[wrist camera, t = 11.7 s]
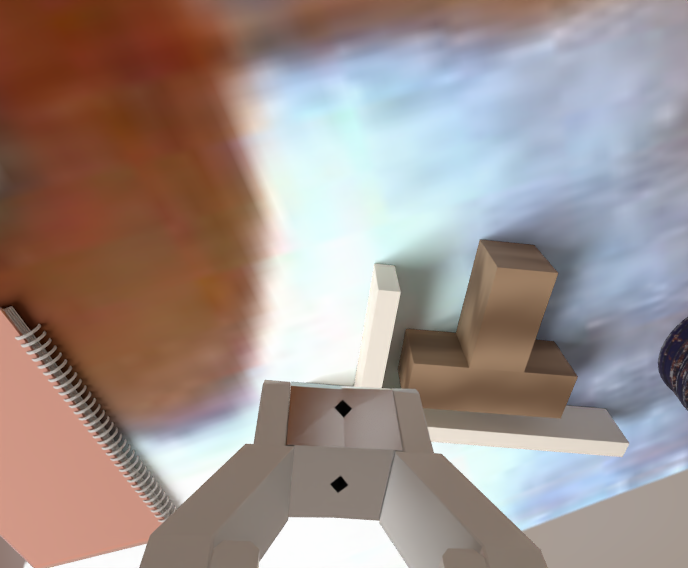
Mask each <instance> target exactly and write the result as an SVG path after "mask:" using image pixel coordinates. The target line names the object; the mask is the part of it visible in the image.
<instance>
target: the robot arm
mask: <svg viewBox="0 0 688 568" xmlns="http://www.w3.org/2000/svg"><path fill="white" fill-rule="evenodd" d="M289 399H290V402H289ZM288 517H334V518H349V519H364V520H379V523H380V525H381V526H382V528H383V529H384V531H385V532H386V534H387V535H388V537H389V538H390V540H391V541H392V543H393V544H394V546H395V547H396V549H397V551H398V552H399V554H400V555H401V557H402V558H403V560H404V561H405V563H406V564H407V566H408V567H409V568H548V567H547V565H546V562H545V560H544V557H543V555H542V552H541V550H540V549H539V548H538V547H537V546H536V545H535V544H534V543H533V542H532V541H531V540H530V539H529V538H528V537H527V536H526V535H525V534H524V533H523V532H522V531H521V530H520V529H519V528H518V527H517V526H516V525H515V524H514V523H512V522H511V521H510V520H509V519H508V518H507V517H506V516H505V515H504V514H503V513H502V512H501V511H500V510H499V509H498V508H497V507H496V506H495V505H494V504H493V503H492V502H491V501H490V500H489V499H488V498H487V497H486V496H485V495H484V494H483V493H481V492H480V491H479V490H478V489H477V488H476V487H475V486H474V485H473V484H472V483H471V482H470V481H469V480H468V479H467V478H466V477H465V476H464V475H463V474H462V473H461V472H460V471H459V470H458V469H457V468H456V467H455V466H454V465H453V464H452V463H451V462H449V461H448V460H447V459H446V458H445V457H444V456H443V455H442V454H436V453H434V452H433V448H432V444H431V440H430V436H429V431H428V427H427V423H426V419H425V415H424V411H423V407H422V403H421V399H420V395H419V392H418V391H417V390H416V389H401V388H391V389H389V388H371V387H353V386H337V385H325V384H313V383H301V382H291V390H290V382H284V381H272V380H265V381H264V383H263V387H262V393H261V400H260V406H259V413H258V419H257V426H256V432H255V439H254V444H245V445H244V446H243V447H242V448H241V449H240V450H239V451H238V452H237V453H236V454H235V455H233V456H232V457H231V458H230V459H229V460H228V461H227V462H226V463H225V464H224V465H223V466H222V467H221V468H220V469H219V470H218V471H217V472H216V473H215V474H214V475H212V476H211V477H210V478H209V479H208V480H207V481H206V482H205V483H204V484H203V485H202V486H201V487H200V488H199V489H198V490H197V491H196V492H195V493H194V494H193V495H192V496H190V497H189V498H188V499H187V500H186V501H185V502H184V503H183V504H182V505H181V506H180V507H179V508H178V509H177V510H176V511H175V512H174V513H173V514H172V515H171V516H170V517H168V518H167V519H166V520H165V521H164V522H163V523H162V524H161V525H160V526H159V527H158V528H157V529H156V530H155V531H154V532H153V533H152V534H151V535H150V537H149V540H148V543H147V546H146V549H145V552H144V555H143V558H142V561H141V564H140V567H139V568H259V561H260V560H261V559H262V557H263V556H264V554H265V553H266V551H267V550H268V548H269V547H270V545H271V544H272V543H273V541H274V540H275V538H276V537H277V535H278V534H279V532H280V531H281V530H282V528H283V527H284V525H285V524H286V522H287V521H288Z"/></svg>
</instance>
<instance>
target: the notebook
mask: <svg viewBox="0 0 688 568" xmlns="http://www.w3.org/2000/svg"><path fill="white" fill-rule="evenodd" d="M40 327H41V325H40V324H38V326H37V327H36V328H35V329H33V330H32V331H31V330H30V329H29V328H28V326H27V325H26V324H25V322H24V321H23V320H22V319H21V317H20V316H19V315H18V313H17V312H16V311H15V309H14V308H13V307H12V306H11V307H8V308H5V309H2V308H0V536H1V537H2V538H3V539H4V540H5V541H6V542H7V543H8V544H9V545H10V546H12V548H14V549H15V550H16V551H17V552H18V553H19V554H20V555H21V556H22V557H23V558H24V559H25V560H26V561H27V562H28V563H29V564H30V565H31V566H32V567H33V568H50V567H54V566H58V565H62V564H66V563H70V562H74V561H78V560H82V559H86V558H90V557H94V556H98V555H102V554H106V553H110V552H114V551H119V550H123V549H127V548H131V547H135V546H139V545H143V544H147V543H148V540H149V537H150V535H151V534H152V533H153V532H154V531H155V530H156V529H157V528H158V527H159V526H160V525H161V524H162V523H163V522H164V521H165V520H166V519H167V518H168V517H170V516H171V515H172V514H173V513H174V512H175V511H176V506H174V511H173V513H172V514H170V513H169V511H170V509H171V508H172V504H173V502H172V501H170V502H171V504H170V507H169V508H168V510H167V509H166V508H165V506H166V505H167V504H168V501H169V497H168V496H167V500H166V502H165V504H164V505H163V504H162V503H161V502H162V500H163V499H164V497H165V491H163V496H162V498H161V499H160V500H159V499H158V496H159V495H160V493H161V491H162V487H161V486H160V490H159V492H158V494H157V495H155V493H154V491H155V490H156V489H157V487H158V482H157V481H156V486H155V487H154V489H153V490H152V489H151V488H150V486H151V485H152V484H153V482H154V477H153V476H152V481H151V483H150V484H149V485H148V484H147V483H146V481H147V480H148V479H149V477H150V471H148V476H147V478H146V479H145V480H144V479H143V478H142V476H143V475H144V474H145V472H146V470H147V467H146V466H144V471H143V472H142V474H141V475H140V474H139V472H138V471H139V470H140V469H141V467H142V465H143V462H142V461H141V464H140V466H139V467H138V469H137V470H136V468H135V467H134V466H135V465H136V463H137V462H138V460H139V456H138V455H137V459H136V460H135V462H134V463H133V464H132V463H131V462H130V460H131V459H132V458H133V456H134V454H135V451H134V450H132V451H133V453H132V455H131V456H130V458H129V459H128V458H127V457H126V455H127V453H128V452H129V451H130V449H131V446H130V445H129V447H128V449H127V450H126V452H125V453H123V451H122V449H123V448H124V446H125V445H126V442H127V441H126V439H124V443H123V445H122V446H121V447H119V446H118V445H117V444H118V443H119V442H120V441H121V439H122V434H121V433H120V437H119V439H118V440H117V441H116V442H115V441H114V439H113V438H114V437H115V436H116V434H117V433H118V428H116V431H115V432H114V434H113V435H112V436H111V435H110V434H109V431H110V430H111V429H112V428H113V426H114V423H113V422H111V423H112V424H111V426H110V427H109V429H108V430H106V429H105V428H104V426H105V425H106V424H107V423H108V421H109V416H107V419H106V421H105V422H104V423H103V424H101V422H100V420H101V419H102V418H103V416H104V415H105V411H104V410H103V413H102V414H101V415H100V417H99V418H97V417H96V416H95V414H96V413H97V412H98V411H99V409H100V407H101V406H100V404H98V407H97V408H96V410H95V411H94V412H92V411H91V409H90V408H91V407H92V406H93V405H94V404H95V402H96V399H95V398H93V401H92V403H91V404H90V405H89V406H88V405H87V404H86V403H85V402H86V401H87V400H88V399H89V398H90V396H91V392H90V391H89V394H88V396H87V397H86V398H85V399H84V400H83V399H82V397H81V395H82V394H83V393H84V392H85V390H86V388H87V387H86V385H84V388H83V389H82V391H81V392H80V393H78V392H77V391H76V389H77V388H78V387H79V386H80V384H81V383H82V380H81V379H79V382H78V383H77V384H76V385H75V386H74V387H73V386H72V384H71V382H72V381H73V380H74V379H75V378H76V376H77V373H76V372H75V373H74V376H73V377H72V378H71V379H70V380H68V379H67V378H66V375H67V374H69V373H70V371H71V370H72V366H69V369H68V370H67V371H66V372H65V373H64V374H63V372H62V371H61V370H60V369H61V368H63V367H64V366H65V364H66V363H67V360H66V359H64V362H63V363H62V364H61V365H60V366H59V367H58V366H57V365H56V363H55V362H56V361H57V360H59V359H60V357H61V356H62V353H61V352H59V355H58V356H57V357H56V358H55V359H52V358H51V357H50V355H51V354H52V353H53V352H54V351H55V350H56V349H57V346H56V345H54V348H53V349H52V350H51V351H49V352H48V353H47V351H46V350H45V349H44V348H46V347H47V346H48V345H49V344H50V343H51V341H52V340H51V339H50V338H49V340H48V341H47V342H46V343H45V344H44V345H41V343H40V342H39V341H40V340H41V339H42V338H43V337H44V336H45V335H46V332H45V331H44V332H43V334H42V335H41V336H39V337H38V338H36V337H35V336H34V334H33V333H35V332H36V331H38V330H39V328H40Z"/></svg>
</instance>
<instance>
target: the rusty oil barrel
mask: <svg viewBox="0 0 688 568" xmlns="http://www.w3.org/2000/svg"><path fill="white" fill-rule="evenodd" d="M658 368H659V373H660V376H661V378H662V379H663V381H664V383H665V384H666V385H667V386H668V387H669V388H670V389H671V390H672V391H673V392H674V393H675V395H676V396H677V397H678V399H679V400H680V402H681V403H682V405H683V406H684V407H685V408H686V409H687V411H688V317H687V318H686V319H684V320H683V321H682V322H681V323H680V324H679V325H678V326H676V328H675V329H674V330H673V331H672V332H671V333H670V335H669V336H668V337H667V339H666V340H665V342H664V344H663V346H662V348H661V351H660V354H659V360H658Z"/></svg>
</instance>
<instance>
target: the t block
mask: <svg viewBox="0 0 688 568" xmlns="http://www.w3.org/2000/svg"><path fill="white" fill-rule="evenodd" d="M557 275H558V272H557V271H556V270H555V269H554V268H553V266H552V265H551V264H550V263H549V262H548V261H547V259H546V258H545V257H544V256H543V255H542V254H541V252H540V251H539V250H538V249H537V248H536V247H535V245H530V244H520V243H509V242H499V241H489V240H480V241H479V245H478V249H477V253H476V256H475V260H474V264H473V268H472V272H471V276H470V280H469V284H468V288H467V292H466V295H465V299H464V303H463V307H462V311H461V315H460V319H459V323H458V327H457V331H456V333H452V332H441V331H429V330H417V329H406V331H405V336H404V341H403V346H402V351H401V356H400V361H399V366H398V374H399V379H400V385H401V389H416V390H417V391H418V392H419V395H420V399H421V403H422V407H423V408H426V409H440V410H453V411H466V412H479V413H492V414H506V415H519V416H532V417H545V418H559V419H561V416H562V414H563V412H564V409H565V407H566V404H567V402H568V399H569V397H570V395H571V392H572V390H573V387H574V385H575V382H576V380H577V377H578V376H577V375H576V373H575V372H574V370H573V369H572V367H571V366H570V364H569V363H568V361H567V360H566V358H565V357H564V355H563V354H562V352H561V351H560V349H559V348H558V346H557V345H556V343H555V342H554V341H545V340H535V339H536V336H537V333H538V330H539V327H540V324H541V322H542V319H543V316H544V313H545V310H546V307H547V304H548V301H549V299H550V296H551V293H552V290H553V287H554V284H555V281H556V278H557Z"/></svg>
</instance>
